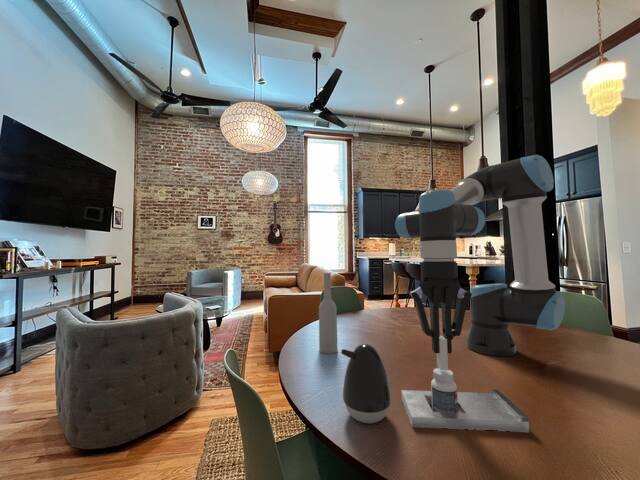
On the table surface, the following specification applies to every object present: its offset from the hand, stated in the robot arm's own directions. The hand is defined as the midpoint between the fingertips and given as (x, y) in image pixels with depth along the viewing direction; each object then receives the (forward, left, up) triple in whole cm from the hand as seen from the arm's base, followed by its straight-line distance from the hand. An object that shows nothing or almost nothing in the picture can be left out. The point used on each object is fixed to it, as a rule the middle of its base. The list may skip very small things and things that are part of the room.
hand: (442, 367), depth 61 cm
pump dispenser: (+17, +2, -10) cm, 20 cm away
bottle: (+28, -38, -10) cm, 48 cm away
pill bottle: (0, 0, -10) cm, 10 cm away
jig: (-3, 0, -10) cm, 10 cm away
